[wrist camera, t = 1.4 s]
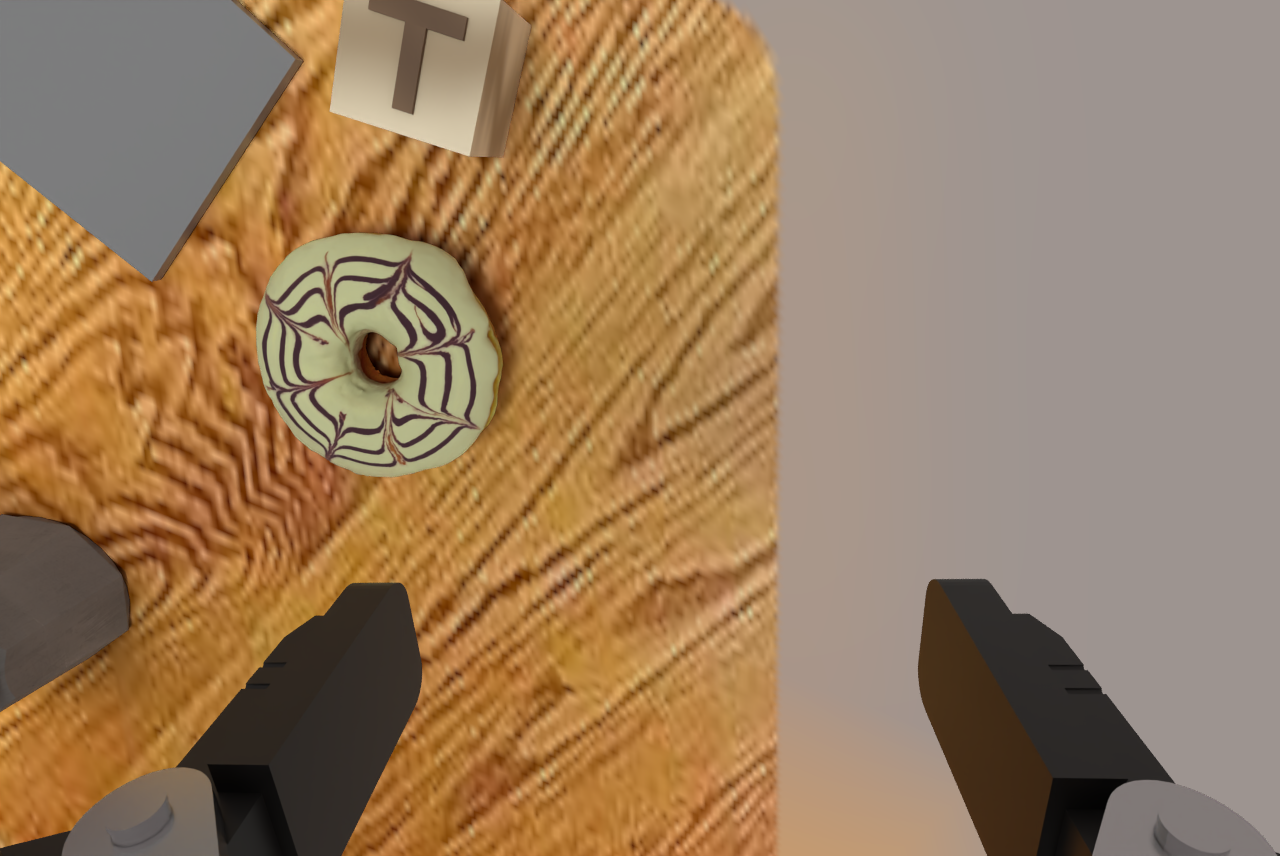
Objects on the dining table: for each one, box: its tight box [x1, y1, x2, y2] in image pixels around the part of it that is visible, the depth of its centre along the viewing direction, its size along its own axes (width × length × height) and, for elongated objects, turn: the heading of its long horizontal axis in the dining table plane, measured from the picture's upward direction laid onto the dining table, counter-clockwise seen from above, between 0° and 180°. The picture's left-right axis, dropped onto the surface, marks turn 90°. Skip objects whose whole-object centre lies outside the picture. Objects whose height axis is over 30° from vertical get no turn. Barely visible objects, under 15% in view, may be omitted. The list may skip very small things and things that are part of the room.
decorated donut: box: [256, 232, 503, 477], centre depth 31 cm, size 10×11×4 cm
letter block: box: [330, 0, 531, 157], centre depth 26 cm, size 5×5×5 cm
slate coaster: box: [0, 0, 303, 281], centre depth 29 cm, size 12×12×1 cm
